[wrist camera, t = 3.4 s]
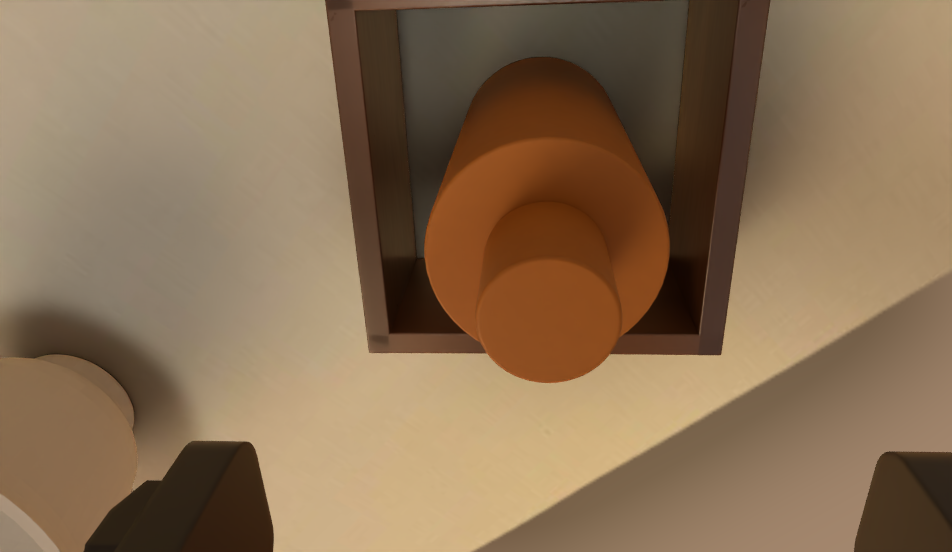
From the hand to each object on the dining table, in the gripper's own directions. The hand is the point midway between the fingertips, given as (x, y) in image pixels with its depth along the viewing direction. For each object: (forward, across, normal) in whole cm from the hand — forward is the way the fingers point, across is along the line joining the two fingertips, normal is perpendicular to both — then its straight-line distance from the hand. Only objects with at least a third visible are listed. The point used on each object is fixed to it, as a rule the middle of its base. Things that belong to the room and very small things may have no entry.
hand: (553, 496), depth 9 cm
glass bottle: (+18, 0, 0) cm, 19 cm away
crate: (+18, 0, 0) cm, 19 cm away
